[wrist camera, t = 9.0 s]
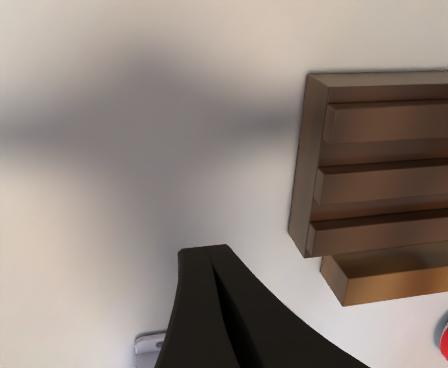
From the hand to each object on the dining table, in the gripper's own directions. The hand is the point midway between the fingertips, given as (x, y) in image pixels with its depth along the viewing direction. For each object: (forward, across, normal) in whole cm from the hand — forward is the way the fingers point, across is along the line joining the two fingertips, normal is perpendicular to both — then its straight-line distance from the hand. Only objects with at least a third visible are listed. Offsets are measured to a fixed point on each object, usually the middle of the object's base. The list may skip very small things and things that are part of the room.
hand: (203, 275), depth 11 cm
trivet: (+9, -11, +1) cm, 15 cm away
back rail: (+9, -19, +8) cm, 23 cm away
